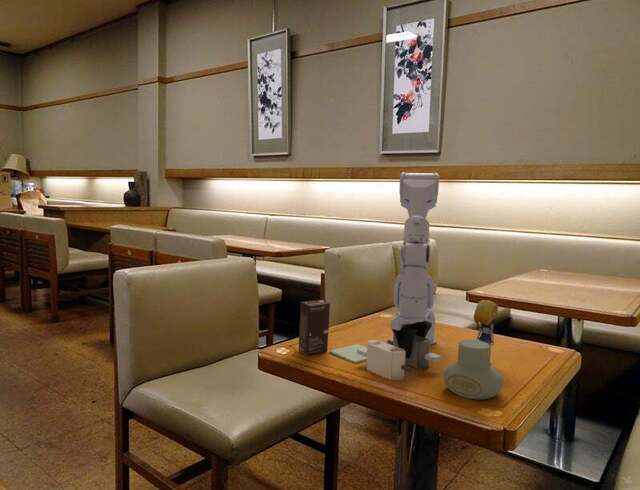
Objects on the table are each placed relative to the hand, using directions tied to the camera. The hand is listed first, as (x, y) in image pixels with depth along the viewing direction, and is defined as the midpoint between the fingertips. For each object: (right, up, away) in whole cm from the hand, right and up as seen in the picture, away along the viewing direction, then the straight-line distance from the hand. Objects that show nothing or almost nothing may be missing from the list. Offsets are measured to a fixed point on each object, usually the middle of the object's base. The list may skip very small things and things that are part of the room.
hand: (410, 354), depth 109 cm
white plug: (-7, -3, -7) cm, 10 cm away
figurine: (+16, -3, 0) cm, 16 cm away
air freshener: (+9, -4, -16) cm, 19 cm away
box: (-22, -1, +6) cm, 23 cm away
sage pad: (-12, -1, +5) cm, 13 cm away
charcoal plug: (0, -2, 0) cm, 2 cm away
